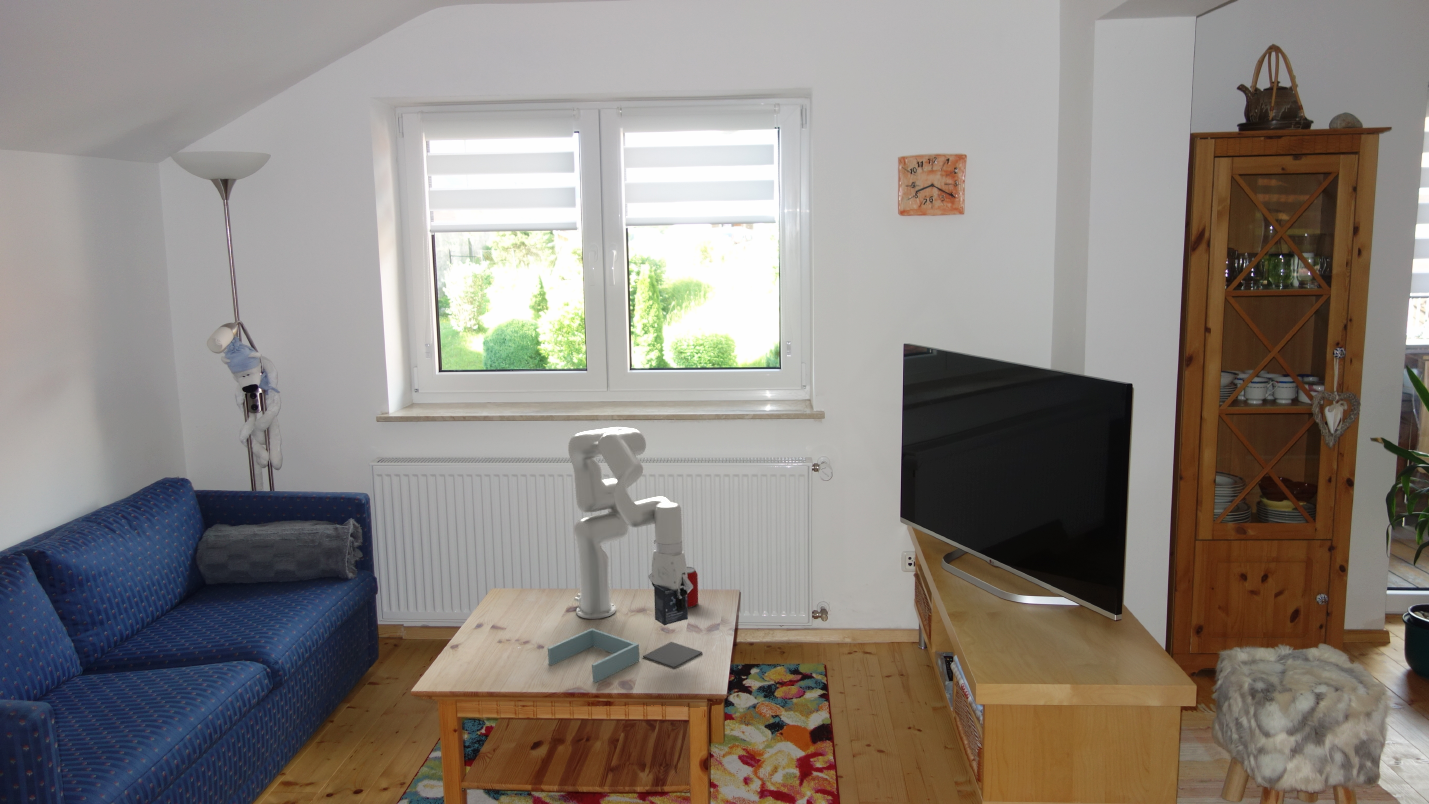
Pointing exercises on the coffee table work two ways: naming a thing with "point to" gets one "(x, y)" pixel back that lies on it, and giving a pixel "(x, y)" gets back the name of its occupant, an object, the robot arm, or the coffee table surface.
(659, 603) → the box
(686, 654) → the mat
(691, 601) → the beverage can
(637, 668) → the coffee table surface
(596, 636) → the cubby
